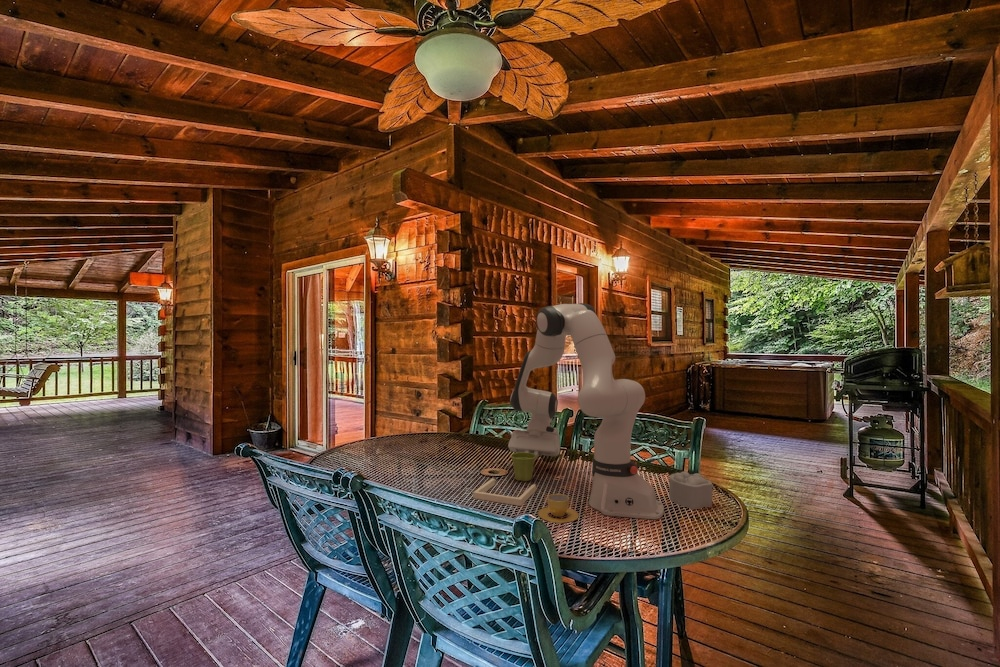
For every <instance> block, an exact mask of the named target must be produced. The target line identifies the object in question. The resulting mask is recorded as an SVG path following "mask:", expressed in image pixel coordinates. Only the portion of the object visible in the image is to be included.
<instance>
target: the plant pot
mask: <svg viewBox="0 0 1000 667" xmlns="http://www.w3.org/2000/svg"><path fill="white" fill-rule="evenodd" d="M510 458H511V461H512V466H513V472H514V479H515V480H516V481H521V482H529V481H531V480H532V479H533V472H534V464H535V461H536V460H535V458H536V455H535V454H532V453H526V452H520V453H519V452H513V453H512V454H510Z"/></svg>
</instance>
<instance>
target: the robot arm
mask: <svg viewBox="0 0 1000 667" xmlns="http://www.w3.org/2000/svg"><path fill="white" fill-rule="evenodd" d="M535 318H536V320H535V322H536V326H537V327H536V328H537V330H536V334H535V335H536V336H535V342H534V346H533V348H532V349H531V350H528V351H527V352H526V353H525V355H524V357H523V360H522V363H521V366H520V368H519V372H518V375H517V377H516V378H517V380H516V382H515V384H514V388H513V390H512V392H511V395H510V398H509V403H510V406H511V407H512V409H513V410H514V411H515V412H523V413H529V414H530V416H531V417H530V419H529V421H528V425H527V427H526V430H525V429H524V430H521V429H516V430H514V431H512V432H511V436H510V439H509V441H508V445H507V446H508V447H507V448H508V449H509V451H510V452H513V453H520V452H526V453H532V454H535V455H536V458H535V461H536V460H537V459H538V458H539V457H540V456H546V457H547V456H548V457H558V456H559V455H560V452H561V442H560V434H559V431H558V429H557V428H556V427H553V426H551V423H552V421H553V418H554V417H555V416H556V414H557V413H556V412H557V409H558V404H559V401H558V398H557V397H556V395H555V393H553V392H551V391H547V390H541V389H537V388H536V389H535V388H531V387H528V386H527V382H528V379H529V377H530V373H531V372H532V371H533V370H536V369H539V368H545V367H551V366H553V365H556V364H557V363H558V362H560V360H561V359H562V358H563V355H564V352H565V347H566V337H567V336H570V337H571V339H572V343H573V345H574V348H575V351H576V354H577V356H578V360H579V363H580V365H581V370H582V386H581V388H580V390H579V392H578V396H577V402H578V406H579V409H580V410H581V412H582V413H583V414H585V415H586V416H588V417H594V418H600V419H601V418H602V421H601V423H600V425H599V426H598V428H597V429H596V430H595V432H594V439H593V445H594V446H593V458H592V464H591V473H592V477H593V478H592V485H591V486H592V487H591V492H590V495H589V499H588V505H589V507H591V508H593V509H594V510H597V511H599V513H601V514H602V515H604V516H609V517H610V516H611V517H620V518H621V517H622V518H633V519H646V520H657V519H658V520H659V519H660V518H662V517H663V515H664V514H665V506H664V504H663V503H662V502H661V501H660V500H657V496H656V495H657V494H656V492H655V491H656V490H655V489H654V487H653V486H652V484H650V483H649V482H648V481H646V480H645V479H644V478H643V477H642V476H641V475H639V473H638V471H639V470H638V463H637V461H635V462H634V461H633V460H631V450H632V449H631V445H632V432H633V429H634V425H635V422H636V419H637V416H638V413H639V411H640V409H641V408H642V406H643V405H644V404H645V401H646V392H645V389H644V387H643V386H642V385H641V384H640V383H639V381H638V382H637V381H635V380H632V379H628V378H619V379H618V378H617V379H615V378H614V375H613V365H614V364H615V361H616V354H615V351H614V348H613V346H612V343H611V342H610V340H609V337H608V335H607V332H606V330H605V327H604V325H603V323H602V322H601V320H600V318H599V317H598V316H597V311H596V310H595V308H594V307H593V305H591V304H588V303H584V302H579V303H561V304H556V305H548V306H545V307H542V308H541V309H539V311H538V312H537V315H536V317H535Z"/></svg>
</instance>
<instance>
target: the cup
mask: <svg viewBox="0 0 1000 667" xmlns="http://www.w3.org/2000/svg"><path fill="white" fill-rule="evenodd" d="M546 498H547V505H548V506H546V507H544V508H541V509H539V510H538V512H537V515H538V517H540V519H543V521H544V520H545V521H547V522H551V523H557V524H559V523H562V524H564V523H565V524H566V523H571V522H574V521H576V520H577V519H579V517H580V515H579V512H578V511H577V510H575V509H572V508H569V505H570V496H568V495H566V494H562V493H552V494H549V495H548V496H547V497H546ZM549 513H551V515H552V516H553V517H551V516H550V515H549ZM565 514H568V516H567V517H565V518H562V517H564V516H565ZM554 517H557V518H554Z"/></svg>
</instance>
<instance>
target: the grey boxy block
mask: <svg viewBox="0 0 1000 667" xmlns="http://www.w3.org/2000/svg"><path fill="white" fill-rule="evenodd" d="M668 478H669V481H668V482H669V484H668V488H669V489H668V490H669V492H668V494H669V497H668V498H670V499H669V500H670V502H672V503H673V502H674V504H675V503H676V504H675V505H677V504H678V506H680V505H681V506H680V507H682V506H684V507H683V508H685V507H687V508H686V509H688V508H690V509H689V510H692V509H700V510H702V509H701V508H703V507H709V506H712V507H713V483H712V481H710V480H708V479H706V478H704V477H703V476H702V474H700V473H693V474H692V473H691V474H690V473H689V472H688V471H685V470H684V471H681V472H675V473H671V474H670V475H669V477H668ZM703 509H704V508H703Z"/></svg>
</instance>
